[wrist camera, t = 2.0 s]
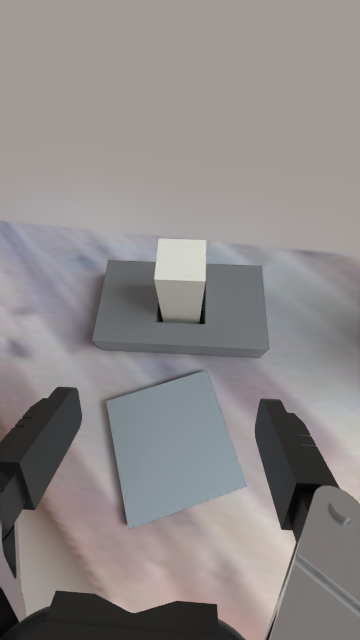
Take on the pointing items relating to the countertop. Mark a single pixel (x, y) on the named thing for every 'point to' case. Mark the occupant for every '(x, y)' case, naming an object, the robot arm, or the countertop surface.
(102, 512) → the countertop surface
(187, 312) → the tall cream white pillar
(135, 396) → the mat
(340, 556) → the robot arm
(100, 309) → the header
